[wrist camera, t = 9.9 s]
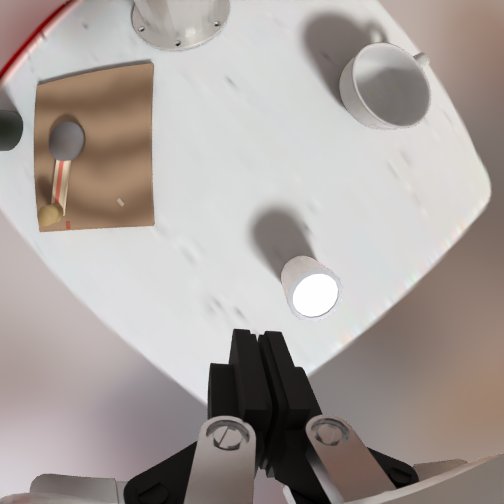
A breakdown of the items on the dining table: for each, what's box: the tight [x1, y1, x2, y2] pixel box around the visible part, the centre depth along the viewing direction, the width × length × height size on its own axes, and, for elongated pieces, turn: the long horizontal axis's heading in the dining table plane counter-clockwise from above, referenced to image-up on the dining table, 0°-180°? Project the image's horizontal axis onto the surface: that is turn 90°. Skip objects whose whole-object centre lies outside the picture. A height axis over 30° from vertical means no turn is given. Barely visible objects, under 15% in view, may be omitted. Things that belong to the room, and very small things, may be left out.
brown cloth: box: [34, 63, 155, 232], centre depth 33 cm, size 20×17×1 cm
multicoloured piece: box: [37, 122, 86, 226], centre depth 31 cm, size 13×5×4 cm, turn 167°
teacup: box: [339, 42, 431, 130], centre depth 32 cm, size 14×11×8 cm
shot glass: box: [281, 256, 343, 322], centre depth 38 cm, size 7×7×7 cm
